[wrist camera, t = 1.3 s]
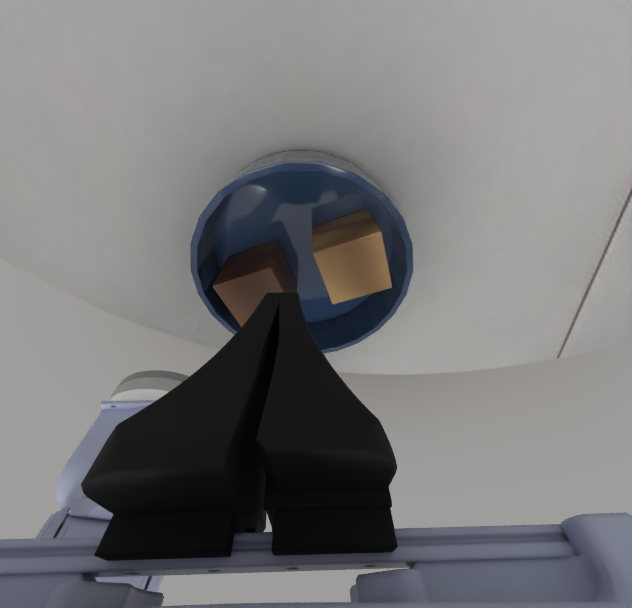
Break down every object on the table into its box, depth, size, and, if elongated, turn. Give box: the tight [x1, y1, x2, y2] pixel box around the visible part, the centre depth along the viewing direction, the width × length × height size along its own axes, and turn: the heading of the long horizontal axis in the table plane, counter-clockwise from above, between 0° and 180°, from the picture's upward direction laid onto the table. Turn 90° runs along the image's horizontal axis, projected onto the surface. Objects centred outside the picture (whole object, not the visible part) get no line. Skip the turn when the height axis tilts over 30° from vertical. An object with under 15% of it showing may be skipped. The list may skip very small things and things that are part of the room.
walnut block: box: [213, 240, 297, 327], centre depth 19 cm, size 4×4×4 cm
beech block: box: [312, 208, 392, 304], centre depth 17 cm, size 4×4×4 cm
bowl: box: [191, 150, 413, 353], centre depth 18 cm, size 14×14×4 cm
